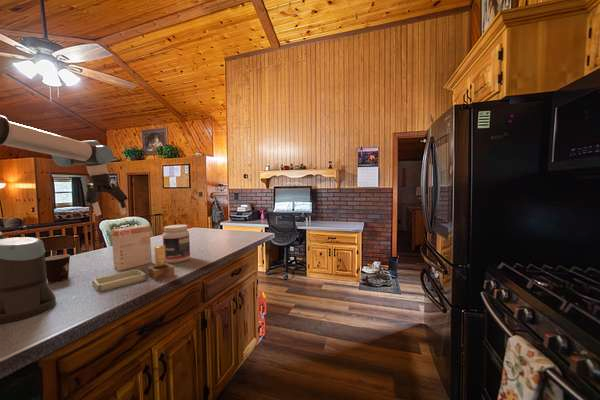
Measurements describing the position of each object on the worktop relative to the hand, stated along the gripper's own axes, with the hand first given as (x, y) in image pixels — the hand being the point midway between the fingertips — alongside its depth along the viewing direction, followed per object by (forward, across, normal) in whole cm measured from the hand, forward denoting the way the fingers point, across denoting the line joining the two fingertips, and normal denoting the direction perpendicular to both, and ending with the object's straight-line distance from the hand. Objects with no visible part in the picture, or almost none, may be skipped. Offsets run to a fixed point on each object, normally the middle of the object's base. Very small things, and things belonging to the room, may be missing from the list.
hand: (111, 214), depth 127 cm
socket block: (+22, -34, +22) cm, 46 cm away
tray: (+20, -22, +29) cm, 41 cm away
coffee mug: (+20, +8, +25) cm, 33 cm away
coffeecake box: (+25, -10, +8) cm, 28 cm away
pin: (+22, -34, +22) cm, 46 cm away
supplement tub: (+28, -28, -1) cm, 40 cm away
